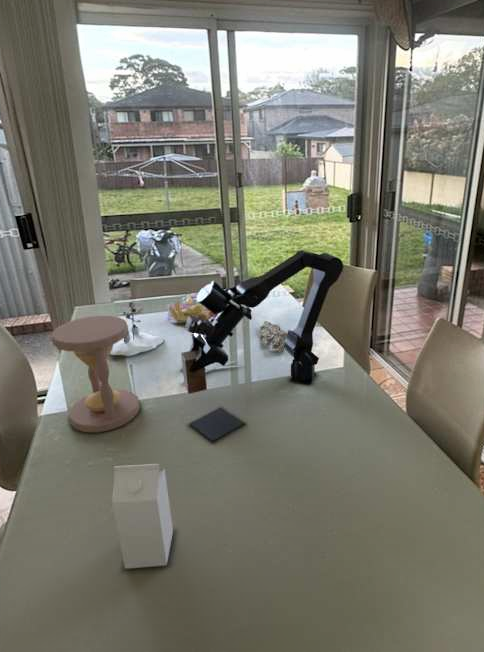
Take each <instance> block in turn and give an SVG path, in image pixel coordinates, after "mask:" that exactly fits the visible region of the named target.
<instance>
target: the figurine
mask: <svg viewBox="0 0 484 652" xmlns="http://www.w3.org/2000/svg"><path fill="white" fill-rule="evenodd" d="M128 307H129V308H130V312H127V311H122V313H123V314H121V316H125V319H128V320H131V322H132V324H131V325H132V327H131V328H130V330H128V333H127V335H126V336H125V337H124V338H123V339H122V340H120V341H119V342H117V343H115V344H113V349H112V351H111V353H110V355H112V356H127V357H128V356H134V355H137V354H139V353H144V352H149V351H150V350H152V349H156V348H157V347H158V346H159V345H161V344H162V343H163V342H164V339H162V338H161V337H160V336H159V335H152V334H149V333H145V332H140V329H139V327H138V326H137V325H136V324H135V323H141V320H140V319H138V320H135V319H134V315H137V314H141V313H142V311H143V309H144V308H141V309H139V310H137V309H136V304H134V302H133V301H129V302H128ZM130 332H131V334H130Z"/></svg>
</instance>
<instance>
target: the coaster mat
mask: <svg viewBox="0 0 484 652" xmlns="http://www.w3.org/2000/svg"><path fill="white" fill-rule="evenodd" d="M243 426H245V422H244V421H242V420H241V419H239V418H237V417H236V416H235V415H233V414H231V413H230V412H229V411H227V410H225V409H223V408H222V407H219V408H217V409H215V410H213V411H211V412H209V413H207V414H205V415H203V416H201V417H199V418H198V419H196V420H195V419H194V420H193V421H191V422H190V423H189V427H191V428H193V429H194V430H195V431H196V432H198V433H199V434H201V435H202V436H203V437H205V438H206V439H207V440H209V441H210V442H211V443H215V442H217V441H219V440H221V439H222V438H224V437H226V436H228V435H229V434H231V433H233V432H234V431H236V430H238V429H240V428H242V427H243Z"/></svg>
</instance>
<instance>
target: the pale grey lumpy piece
mask: <svg viewBox="0 0 484 652" xmlns="http://www.w3.org/2000/svg"><path fill="white" fill-rule="evenodd" d="M268 328H269V330H268ZM259 329H260V338H261V344H262V346H261V347H262V349H264V348H265V347H266V345H267V344H268V343H269V351H271V352H272V351H273V352H276V353H281V354H283V352H284V351H285V350H286V349H285V342H284V340H285V339H286V337H287V332H285V331H282V330H281V329H280V326H279V325H277V324H274V323H272V322H270V321H266V320H265V321H264V322H263V324H262V326H260V327H259ZM269 339H272V341H270V342H269Z"/></svg>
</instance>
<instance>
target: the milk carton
mask: <svg viewBox="0 0 484 652" xmlns="http://www.w3.org/2000/svg"><path fill="white" fill-rule="evenodd" d="M113 469H114V478H113V487H112V497H111V505H112V508H113V514H114V520H115V525H116V530H117V534H118V539H119V545H120V550H121V555H122V560H123V565H124V569H140V568H152V567H165V566H167V565H168V560H169V554H170V549H171V545H172V538H173V535H174V534H173V533H174V529H173V528H174V527H173V520H172V513H171V508H170V507H171V506H170V499H169V491H168V485H167V483H168V482H167V477H166V470H165V468H160V464H159V463H148V464H147V463H146V464H132V465H131V464H130V465H116V466H114V467H113Z"/></svg>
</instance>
